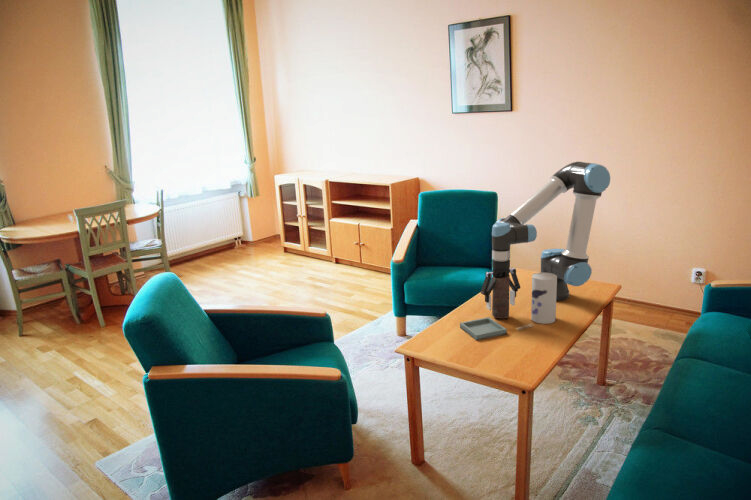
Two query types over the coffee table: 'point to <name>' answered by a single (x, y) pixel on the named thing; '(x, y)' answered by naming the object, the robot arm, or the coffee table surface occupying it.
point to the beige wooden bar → (524, 327)
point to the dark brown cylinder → (501, 297)
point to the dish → (483, 328)
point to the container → (544, 297)
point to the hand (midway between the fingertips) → (500, 306)
